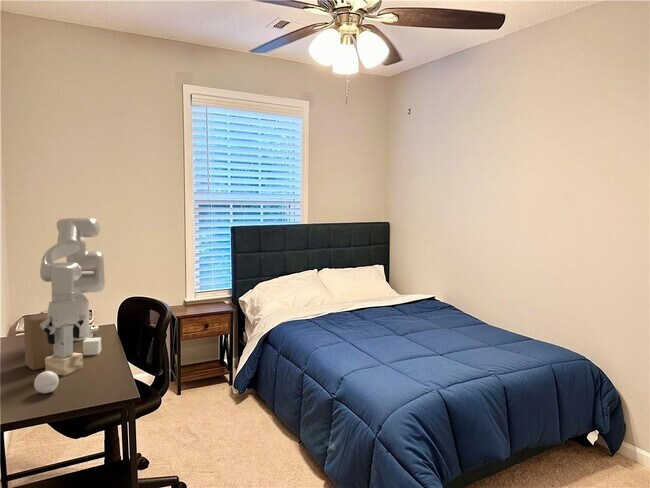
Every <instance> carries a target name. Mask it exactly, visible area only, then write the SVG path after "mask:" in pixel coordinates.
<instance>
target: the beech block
mask: <svg viewBox="0 0 650 488" xmlns="http://www.w3.org/2000/svg"><path fill="white" fill-rule="evenodd" d="M83 368H84V355H83V352H82V353H79V352H74V351H73V355H71V356H68V357H65V358H62V357H58V356H55V355H52V356H50V357H47V358H45V368H44V369H45V371H51V372H54V373H56V374H57V376H67V375H69V374H71V373H74V372H76V371H78V370H82V369H83ZM45 371H44V372H45Z"/></svg>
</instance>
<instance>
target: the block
mask: <svg viewBox="0 0 650 488" xmlns="http://www.w3.org/2000/svg"><path fill="white" fill-rule="evenodd" d="M47 314H48V312H47V313H41V314H40V313H39V314H32V315H31V314H30V315H26V316H24V318H23V330H24V331H23V334H24V335H23V336H24V337H23V338H24V364H25V365H26V366H27V368H29V369H30V370H32V371H36V370H41V369H45V358H47V357H50V356H52V355H54V345H52V344H49V343H48V338H47V333H46V332H44V331H43V330H42V328H41V326H40V324H41V323H42V322H44V321H45V320H46V319H47ZM46 327H47V328H49V326H47V325H46Z"/></svg>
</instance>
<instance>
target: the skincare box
mask: <svg viewBox="0 0 650 488" xmlns="http://www.w3.org/2000/svg"><path fill="white" fill-rule="evenodd" d="M53 334H55V344H53V345H54V355H55V356H58V357H62V358H65V357H68V356H71V355H73V352H74V341H73V325H67V326H63V327H60V328H56V330H55V331H54V333H53Z"/></svg>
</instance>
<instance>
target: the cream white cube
mask: <svg viewBox="0 0 650 488" xmlns="http://www.w3.org/2000/svg"><path fill="white" fill-rule="evenodd" d="M101 351H102V337H101V336H100V337H92V338H86V339H85V340H82V354H83V356H96V355H100V353H101Z"/></svg>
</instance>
